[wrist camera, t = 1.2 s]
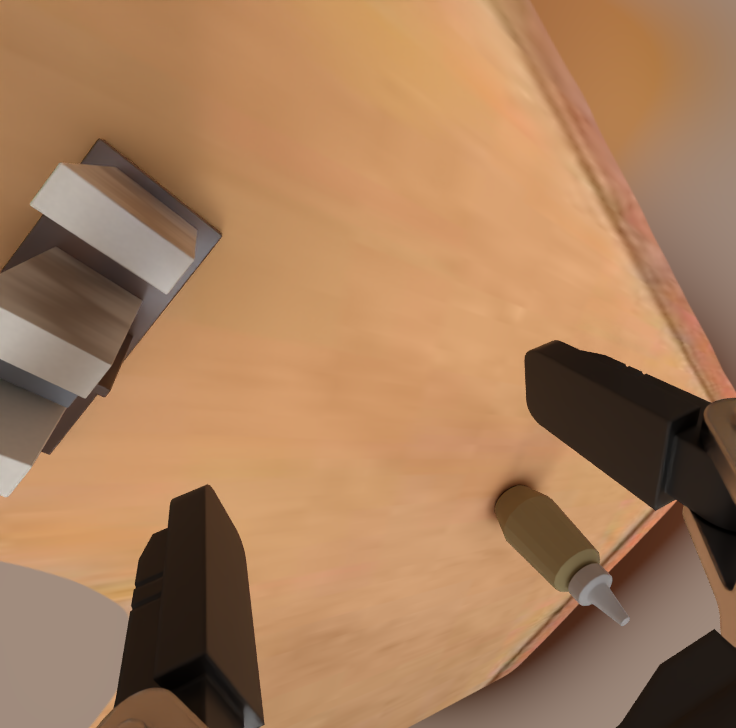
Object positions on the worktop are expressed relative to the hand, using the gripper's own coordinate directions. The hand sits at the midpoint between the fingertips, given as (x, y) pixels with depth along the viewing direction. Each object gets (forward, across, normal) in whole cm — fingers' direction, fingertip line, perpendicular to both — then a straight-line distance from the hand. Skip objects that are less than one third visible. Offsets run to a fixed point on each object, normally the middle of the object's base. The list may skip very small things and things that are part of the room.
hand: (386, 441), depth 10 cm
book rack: (+27, +14, 0) cm, 30 cm away
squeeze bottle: (+27, -21, +42) cm, 54 cm away
